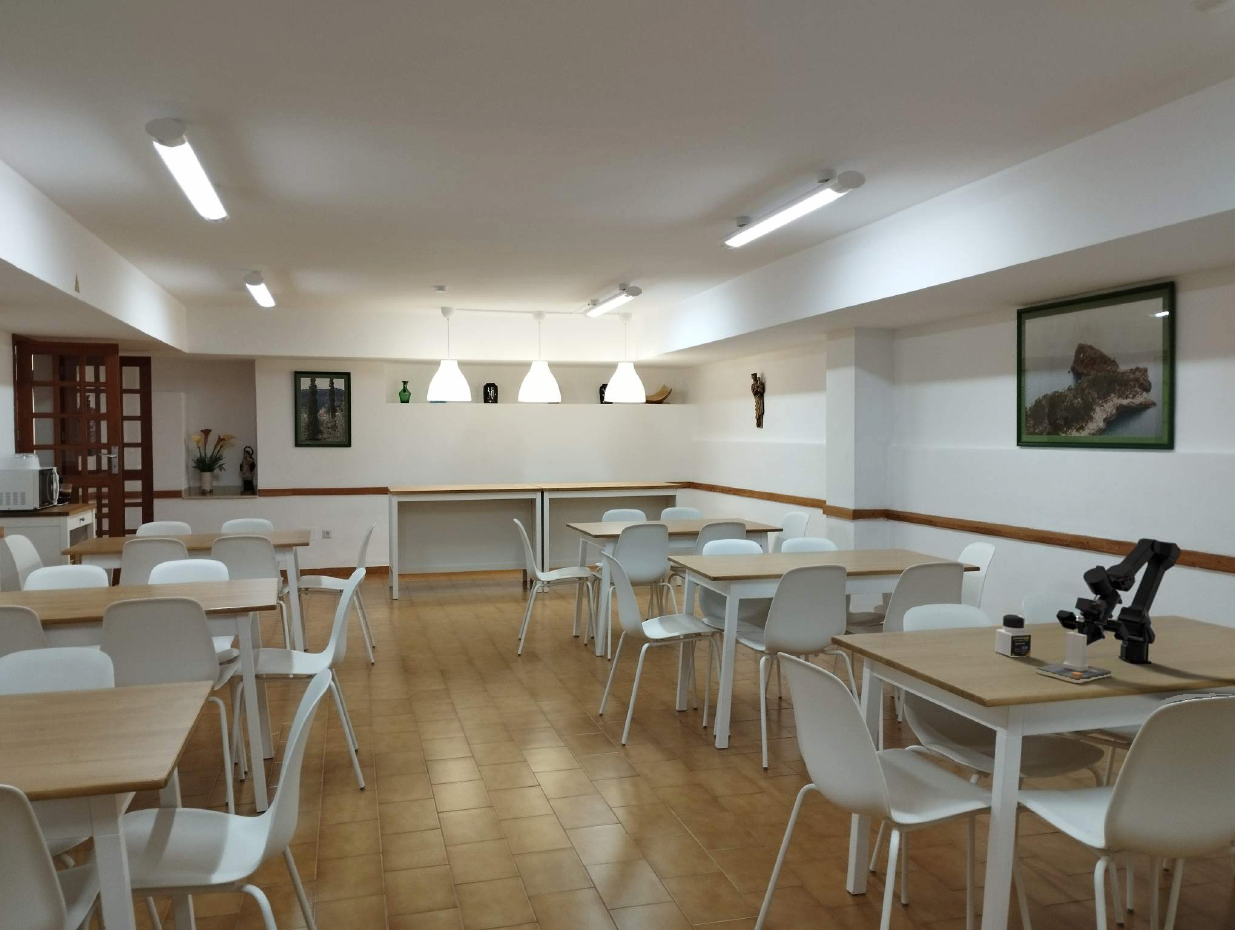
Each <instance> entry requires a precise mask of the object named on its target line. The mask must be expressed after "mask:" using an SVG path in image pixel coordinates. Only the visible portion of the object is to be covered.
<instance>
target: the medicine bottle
mask: <svg viewBox="0 0 1235 930" xmlns="http://www.w3.org/2000/svg"><path fill="white" fill-rule="evenodd" d="M1025 624H1026V619H1025V617H1024V616H1022V615H1019V614H1014V613H1013V614H1005V615H1003V616H1002V628H999V629H996V631H995V646H994V647H995V650H994V651H998V652H1000V653H1003V654H1007V655H1008V656H1030V657H1031V647H1032V646H1031V645H1032V644H1031V643H1032V642H1031V641H1032V634H1031V633H1029V632H1027V631H1025Z"/></svg>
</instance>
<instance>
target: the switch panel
mask: <svg viewBox="0 0 1235 930" xmlns="http://www.w3.org/2000/svg"><path fill="white" fill-rule="evenodd" d="M1064 662H1065V661H1063V662H1059V663H1053V664H1048V665H1045V666H1040V667H1035V669H1039V670H1042V671H1046V672H1051V673H1053V674H1058V675H1060V676H1065V677H1069V678H1071V679H1075V680H1080V679H1090V678H1092V677H1098V676H1104V675H1108V674H1111V675H1112V670H1108V669H1105V668H1101V667H1097V666H1092V665H1089V664H1087V665H1088V670H1085V671H1080V672H1079V671H1075V670H1071V669H1068V668H1064V667H1062V663H1064Z"/></svg>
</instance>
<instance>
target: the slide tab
mask: <svg viewBox="0 0 1235 930" xmlns="http://www.w3.org/2000/svg"><path fill="white" fill-rule="evenodd" d="M1086 644H1087V635H1083V634H1079V633H1078V632H1073V631H1066V634H1065V656H1064V659H1065V660H1064V661H1063V662H1064V663H1062V662H1061V663H1062V667H1064V668H1068V669H1071V670H1075V671H1079V672H1080V671H1085V670H1088V665H1089V664H1087V663H1086V662H1087V661H1086V660H1087V646H1086Z"/></svg>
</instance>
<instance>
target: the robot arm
mask: <svg viewBox="0 0 1235 930" xmlns="http://www.w3.org/2000/svg"><path fill="white" fill-rule="evenodd" d="M1181 554H1182V551H1181V548H1180V547H1179V546H1178V545H1177V543H1175V542H1170V541H1162V540H1158V539H1155V538H1154V539H1153V538H1146V537H1143V538H1140V539H1138V541H1137V544H1136V545H1135V546H1134V548H1133V549H1132V550H1131V551H1130V552H1129V553H1128V554H1127V555H1126V556H1125V557H1124V558H1123V560H1122V561H1121V562H1119V563H1118V564H1113V565H1111V566H1109V567H1108V568H1107V569H1106V568H1105V566H1104V565H1098V564H1097V565H1096V566H1095V567H1093V568H1090V569H1088V570H1087V571H1085V572H1084V573H1083V575H1082V576H1083V580H1084V582H1085V583H1086V585H1087V587H1088V589H1089V590H1090V592H1091V593H1092V594H1093V595H1094V598H1093V599H1090V598H1085V597H1077V600H1076V602H1075V606H1074V608H1075V609H1076V610H1078V611H1079V615H1080V616H1076V615H1075V613H1074V612H1073V611H1069V610H1065V609H1061V610H1058V612H1057V613H1056V615H1055V617H1056V618H1057V620H1058V622H1059V623H1060V625H1061V627H1062V628H1063V629H1066V630H1070V631H1075V630H1077V633H1079V634H1083V635H1087V644H1086V647H1088V646H1089V645H1091V644H1093V643H1095V642H1098V641H1099V640H1105V639H1106V633H1107V634H1108V632H1111V633H1113V636H1114V639H1115V640H1117V641H1121V644H1120V650H1119V651H1120V654H1119V655H1118V659H1121V660H1123V661H1125V660H1126V661H1125V662H1127V661H1128V663H1129V662H1131V663H1130V664H1142V663H1141V662H1148V663H1147V664H1152V663H1151V662H1152V661H1151V660H1149V652H1150V650H1149V648H1150V645H1153V644H1154V643H1155V640H1156V634H1155V632H1154V630H1153V629H1152V627H1151V626H1152V621H1151V620H1152V619H1151V617H1150V613H1149V612H1150V610H1151V608H1152V606H1153V602H1154V600H1155V598H1156V595H1157V593H1158V590H1159V589H1160V585H1161V583H1162V581H1163V577H1164V576H1165V574H1166V572H1167V571H1168V570H1170V569H1171V568H1173V567H1174V566H1176V563H1177V561H1178V559H1180V557H1181ZM1146 563H1147V564H1146ZM1145 565H1146V568H1145V569H1144V573H1143V575H1142V577H1141V580H1140V582H1139V583H1138V587H1137V590H1136V592H1135V594H1134V597H1133V598H1132V601H1131V604H1130V605H1128V607H1127V606H1122V607H1121V608H1120V611H1119V613H1118V615H1117V617H1116V620H1115V619H1113V618H1114V615H1113V612H1114V610H1115V608H1116V606H1117V605H1123V599H1122V597H1121V594H1120V593H1119V591H1120V592H1126V593H1127V592H1129V591H1131V589H1132V588H1134V587H1133V586H1134V585H1135V583H1136V575H1137V574H1138V572H1140V570H1141V569H1142V568H1143V567H1144V566H1145ZM1149 662H1150V663H1149Z"/></svg>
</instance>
